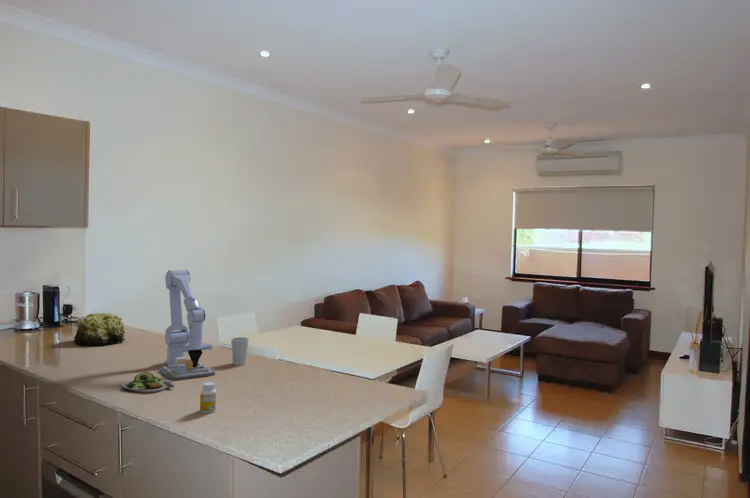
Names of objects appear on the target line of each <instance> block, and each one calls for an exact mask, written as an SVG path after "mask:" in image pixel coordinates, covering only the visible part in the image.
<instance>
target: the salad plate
mask: <svg viewBox="0 0 750 498" xmlns="http://www.w3.org/2000/svg"><path fill="white" fill-rule="evenodd" d="M121 387H122V389H124V391H127V392H130V393H131V392H133V393H141V394H149V393H150V394H153V393H160V392H163V391H165V390H167V389H170V388H174V387H175V385H174V384H173V380H172V381H171V380H170V379H163V378H161V377H158V376H155V375H154V374H153V373H152V372H149V371H146V372H145V371H144V372H141V373H138V374H136V375H135V376H134V377H133V380H132V381H129V382H125V383H124V384H122V386H121Z"/></svg>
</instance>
